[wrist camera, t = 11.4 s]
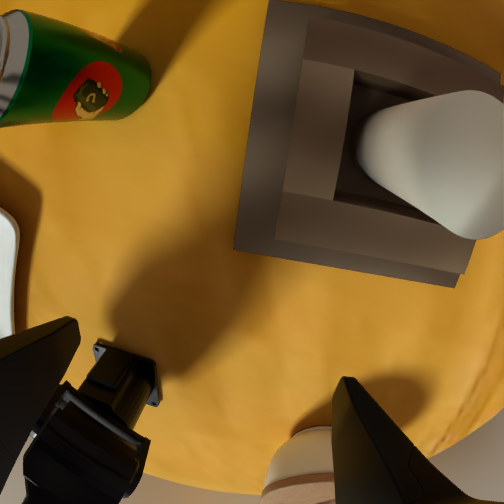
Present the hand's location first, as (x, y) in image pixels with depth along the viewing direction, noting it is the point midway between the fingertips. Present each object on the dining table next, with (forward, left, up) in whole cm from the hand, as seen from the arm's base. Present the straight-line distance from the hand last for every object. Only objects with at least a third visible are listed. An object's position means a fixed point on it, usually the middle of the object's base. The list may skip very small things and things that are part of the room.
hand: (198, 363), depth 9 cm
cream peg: (+7, -7, -11) cm, 15 cm away
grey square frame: (+7, -7, -12) cm, 15 cm away
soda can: (+9, +10, -12) cm, 18 cm away
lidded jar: (-21, -10, -12) cm, 26 cm away
